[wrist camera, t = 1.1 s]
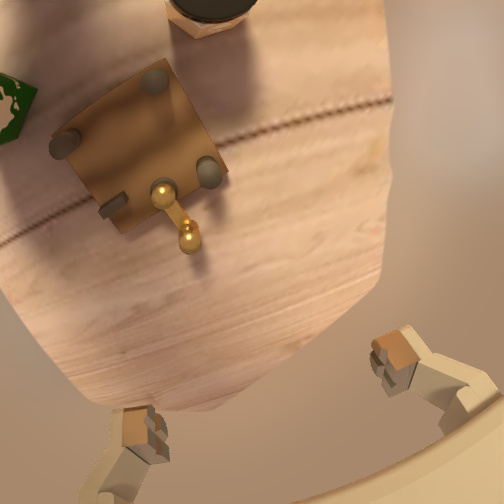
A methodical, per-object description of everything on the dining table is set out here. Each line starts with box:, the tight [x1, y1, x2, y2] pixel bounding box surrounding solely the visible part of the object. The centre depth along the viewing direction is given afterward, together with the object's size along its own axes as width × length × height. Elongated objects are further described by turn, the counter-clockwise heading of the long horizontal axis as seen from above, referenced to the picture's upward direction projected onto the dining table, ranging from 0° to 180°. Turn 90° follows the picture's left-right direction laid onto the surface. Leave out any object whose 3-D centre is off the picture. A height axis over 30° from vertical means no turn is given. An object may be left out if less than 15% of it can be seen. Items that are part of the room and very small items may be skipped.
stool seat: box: [49, 58, 229, 234], centre depth 33 cm, size 16×16×7 cm
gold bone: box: [151, 181, 201, 254], centre depth 37 cm, size 9×3×4 cm, turn 26°
